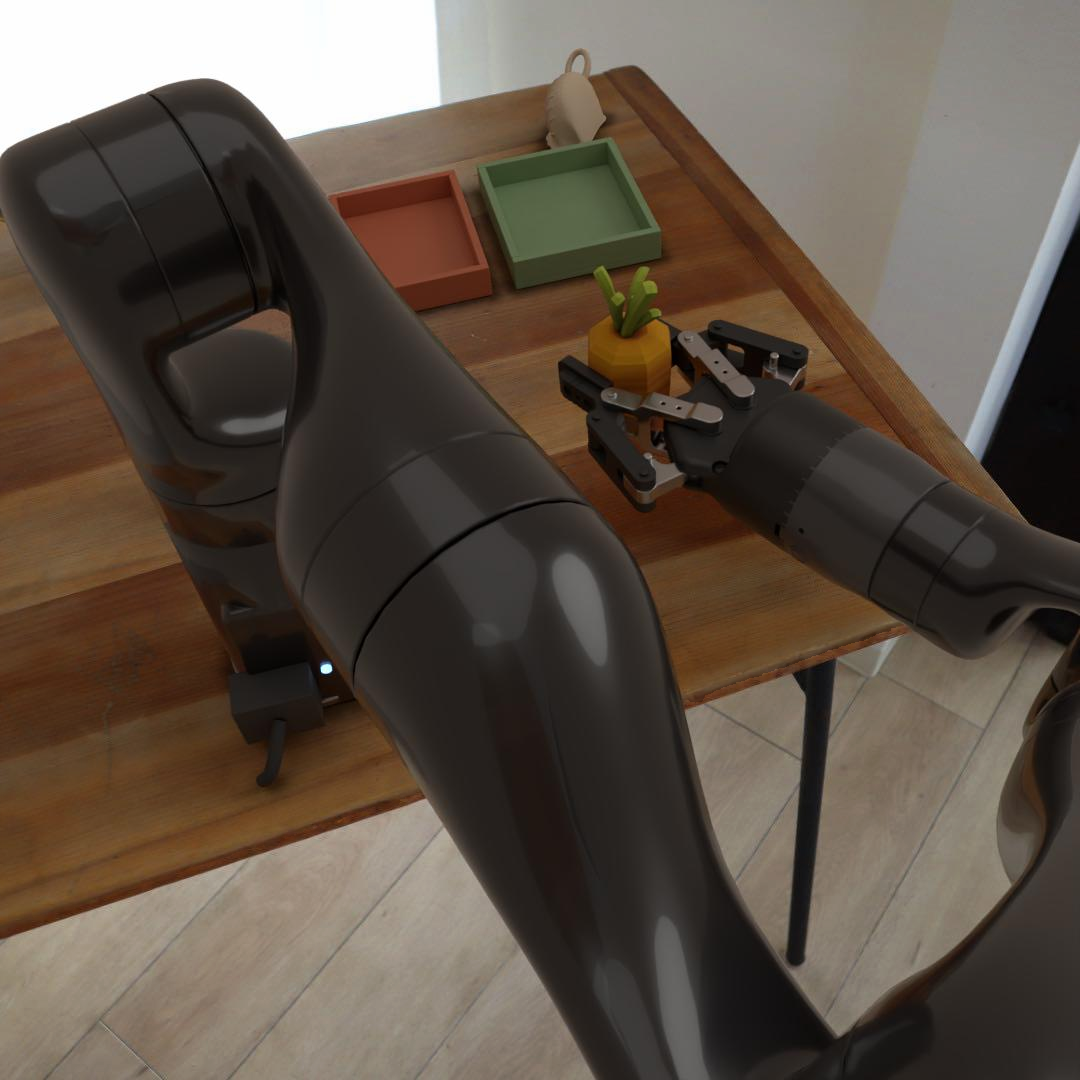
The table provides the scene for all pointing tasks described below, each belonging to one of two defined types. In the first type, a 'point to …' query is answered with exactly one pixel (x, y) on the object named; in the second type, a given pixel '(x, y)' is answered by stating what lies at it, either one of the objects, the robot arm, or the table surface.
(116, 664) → the table surface
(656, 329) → the carrot
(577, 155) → the green tray
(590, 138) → the decorative ornament
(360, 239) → the terracotta tray
